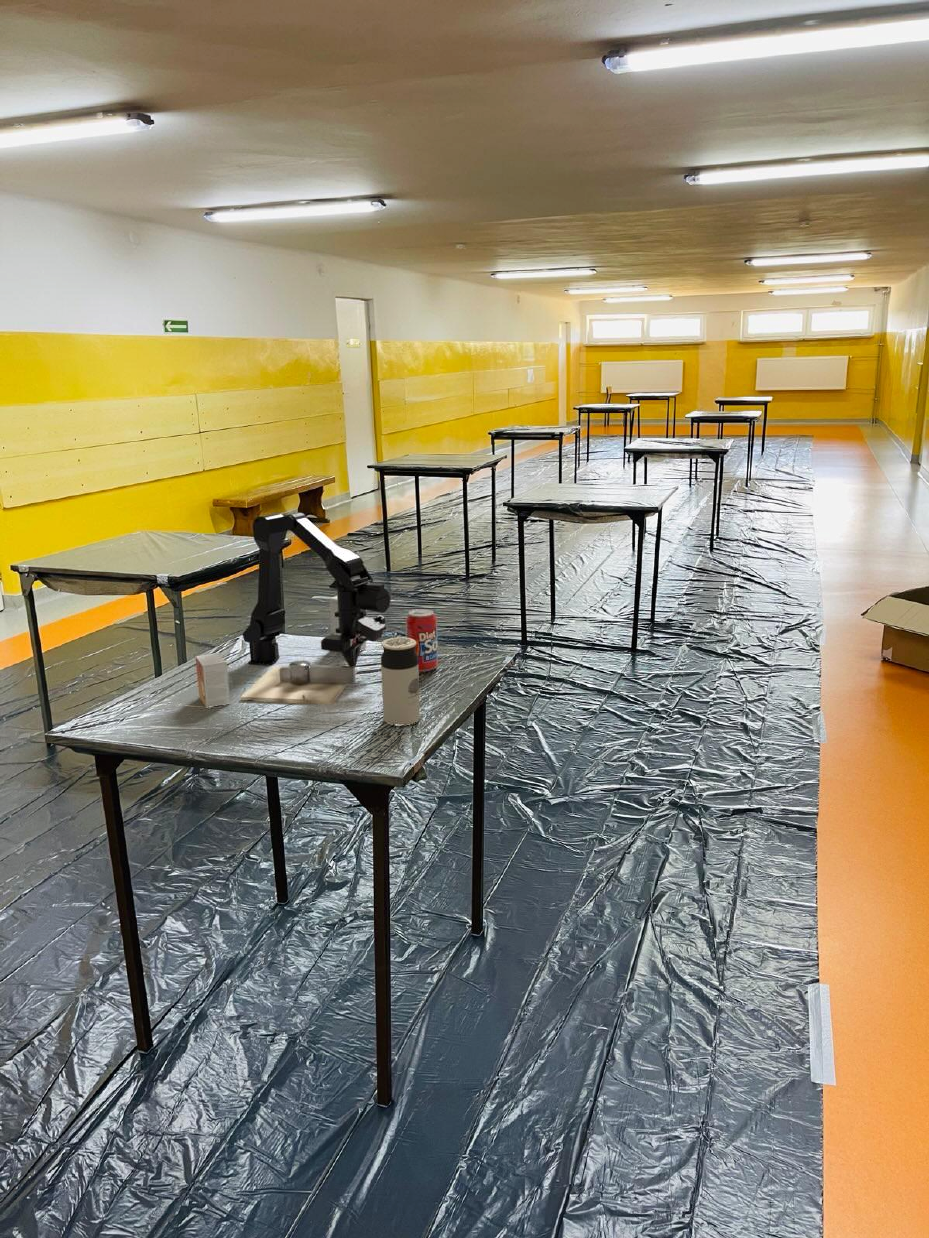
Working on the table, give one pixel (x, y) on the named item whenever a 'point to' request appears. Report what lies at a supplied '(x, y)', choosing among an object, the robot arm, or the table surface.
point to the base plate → (292, 690)
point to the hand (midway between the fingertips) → (352, 667)
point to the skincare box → (335, 619)
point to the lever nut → (317, 673)
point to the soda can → (423, 637)
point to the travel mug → (400, 681)
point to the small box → (212, 679)
